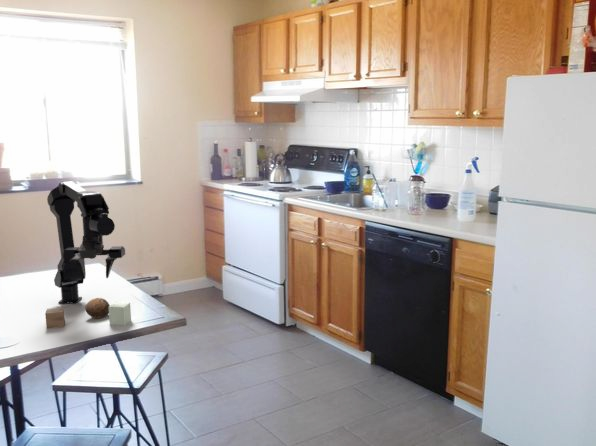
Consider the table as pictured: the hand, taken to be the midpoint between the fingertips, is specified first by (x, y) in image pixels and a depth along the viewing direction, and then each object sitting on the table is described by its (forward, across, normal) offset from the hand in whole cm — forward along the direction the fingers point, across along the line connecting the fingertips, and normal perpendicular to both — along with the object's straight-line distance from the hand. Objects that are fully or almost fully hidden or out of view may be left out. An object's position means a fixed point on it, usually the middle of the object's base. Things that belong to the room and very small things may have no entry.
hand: (95, 278), depth 191 cm
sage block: (+13, +9, -7) cm, 17 cm away
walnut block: (+13, -11, -8) cm, 19 cm away
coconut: (+13, 0, 0) cm, 13 cm away
